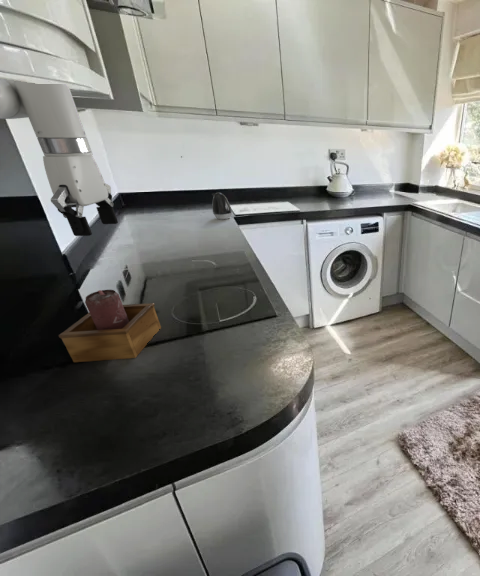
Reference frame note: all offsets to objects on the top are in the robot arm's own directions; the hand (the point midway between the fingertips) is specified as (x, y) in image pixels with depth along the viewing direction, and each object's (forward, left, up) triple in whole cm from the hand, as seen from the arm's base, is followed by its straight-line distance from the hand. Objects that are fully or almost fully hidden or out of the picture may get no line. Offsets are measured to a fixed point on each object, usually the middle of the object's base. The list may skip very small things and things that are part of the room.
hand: (97, 229), depth 74 cm
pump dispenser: (-13, +123, -28) cm, 127 cm away
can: (-1, -6, -28) cm, 29 cm away
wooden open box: (-1, -6, -28) cm, 28 cm away
